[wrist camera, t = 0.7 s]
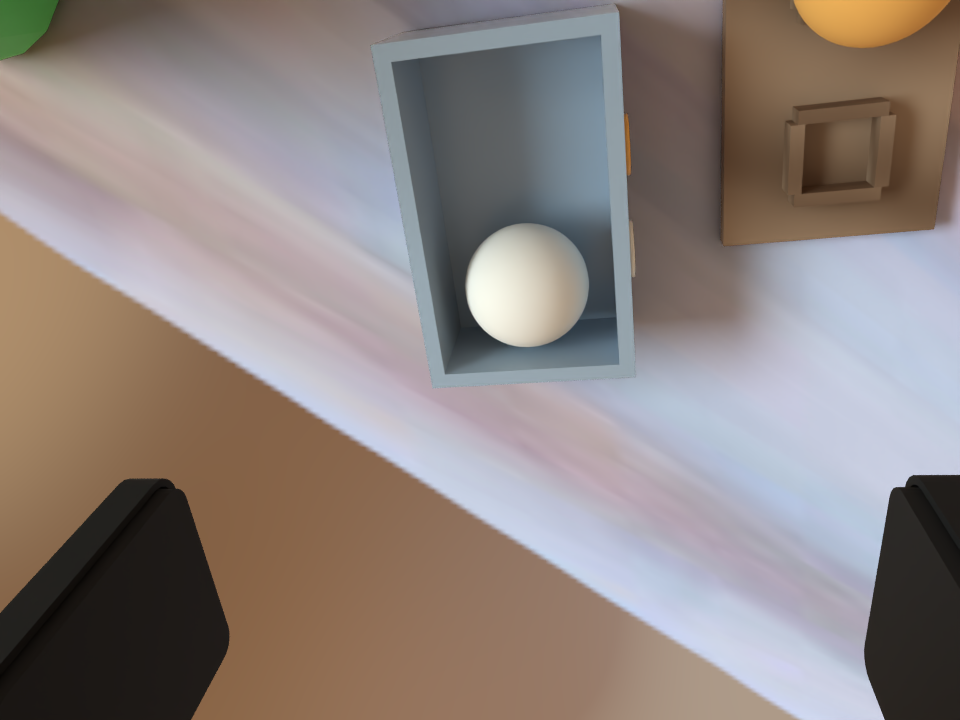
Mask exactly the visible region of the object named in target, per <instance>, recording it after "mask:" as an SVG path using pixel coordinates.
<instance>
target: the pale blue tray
mask: <svg viewBox="0 0 960 720" xmlns="http://www.w3.org/2000/svg"><path fill="white" fill-rule="evenodd" d="M371 51H372V56H373V62H374V67H375V73H376V78H377V84H378V89H379V95H380V100H381V106H382V111H383V117H384V122H385V128H386V133H387V139H388V144H389V150H390V155H391V161H392V166H393V172H394V178H395V183H396V189H397V194H398V200H399V205H400V211H401V216H402V222H403V227H404V233H405V238H406V244H407V249H408V255H409V260H410V266H411V271H412V277H413V282H414V288H415V293H416V299H417V304H418V310H419V315H420V321H421V326H422V332H423V337H424V343H425V348H426V354H427V359H428V365H429V370H430V376H431V381H432V387H433V388H446V387H464V386H483V385H501V384H520V383H538V382H557V381H575V380H593V379H612V378H630V377H636V371H635V349H634V327H633V305H632V283H631V277H635V248H634V233H633V222H632V220H629V218H628V196H627V176H630V175H631V152H630V133H629V120H628V113H625V114H624V108H623V86H622V64H621V42H620V20H619V11H618V9H617V7H616V5H615V4H607V5H600V6H593V7H585V8H578V9H571V10H563V11H556V12H549V13H541V14H534V15H527V16H519V17H512V18H505V19H497V20H490V21H483V22H475V23H468V24H461V25H453V26H446V27H439V28H431V29H424V30H417V31H409V32H402V33H400V34H397V35H395V36H392V37H390V38H387V39H385V40H382V41H380V42H377V43H375V44H372V45H371ZM520 223H534V224H540V225H545V226H548V227H550V228H553V229H555V230H557V231H559V232H560V233H562V234H563V235H565V236H566V237H567V238H568V239H569V240H570V241H571V242H572V243H573V244H574V245H575V246H576V247H577V249H578V250H579V252H580V254H581V255H582V257H583V259H584V262H585V264H586V268H587V271H588V278H589V292H588V298H587V302H586V305H585V308H584V310H583V312H582V314H581V316H580V318H579V319H578V321H577V322H576V324H575V325H574V326H573V327H572V328H571V329H570V330H569V331H568V332H567V333H566V334H564V335H563V336H561V337H560V338H558V339H557V340H555V341H553V342H550V343H548V344H545V345H541V346H535V347H518V346H513V345H509V344H506V343H503V342H501V341H499V340H497V339H495V338H494V337H492V336H491V335H489V334H488V333H487V332H486V331H484V330H483V328H482V327H481V326H480V325H479V324H478V323H477V321H476V320H475V318H474V316H473V315H472V313H471V311H470V308H469V306H468V302H467V298H466V291H465V279H466V274H467V269H468V265H469V263H470V260H471V258H472V256H473V254H474V253H475V251H476V250H477V248H478V247H479V246H480V244H481V243H482V242H483V241H484V240H485V239H487V238H488V237H489V236H490V235H492V234H493V233H495V232H496V231H498V230H500V229H502V228H504V227H507V226H510V225H514V224H520Z"/></svg>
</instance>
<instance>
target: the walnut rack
mask: <svg viewBox="0 0 960 720" xmlns="http://www.w3.org/2000/svg"><path fill="white" fill-rule="evenodd" d="M959 46H960V0H950V2H949V3H948V4H947V5H946V6H945V8H944V9H943V10H942V11H941V12H940V13H939V14H938V15H937V16H936V17H935V18H934V19H933V20H931V21H930V22H929V23H928V24H927V25H925V26H924V27H923V28H921V29H920V30H918V31H917V32H915V33H913V34H911V35H910V36H908V37H906V38H903V39H901V40H899V41H896V42H893V43H890V44H887V45H884V46H878V47H873V48H854V47H846V46H842V45H838V44H835V43H832V42H830V41H828V40H826V39H824V38H823V37H821V36H819V35H818V34H817V33H815V32H814V31H813V30H812V29H811V28H810V27H809V26H808V25H807V24H806V23H805V22H804V20H803V19H802V17H801V16H800V14H799V12H798V10H797V8H796V6H795V4H794V0H723V22H722V126H721V230H720V240H721V242H722V245H723V246H734V245H746V244H758V243H771V242H783V241H795V240H808V239H820V238H832V237H845V236H857V235H869V234H882V233H894V232H906V231H919V230H931V229H934V227H935V220H936V212H937V205H938V198H939V191H940V183H941V176H942V169H943V162H944V155H945V147H946V140H947V133H948V126H949V118H950V111H951V104H952V97H953V90H954V82H955V75H956V68H957V61H958V53H959Z"/></svg>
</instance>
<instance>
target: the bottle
mask: <svg viewBox="0 0 960 720" xmlns="http://www.w3.org/2000/svg"><path fill="white" fill-rule="evenodd" d="M58 1H59V0H0V60H3V59H6V58H9V57H13V56H16V55H19V54H23V53H25V52H26V51H27V50H28V49H29V48H30V47H31V46H32V45H33V44H34V43H35V42H36V41H37V40H38V39H39V38H40V37H41V36H42V35H43V34H44V33H45V32H46V31H47V30H48V27H49V24H50V22H51V19H52V17H53V14H54V11H55V9H56V6H57V3H58Z"/></svg>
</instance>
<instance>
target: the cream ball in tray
mask: <svg viewBox="0 0 960 720" xmlns="http://www.w3.org/2000/svg"><path fill="white" fill-rule="evenodd" d="M465 291H466V298H467V302H468V306H469V308H470V311H471V313H472V315H473V316H474V318H475V320H476V321H477V323H478V324H479V325H480V326H481V327H482V328H483V330H484V331H486V332H487V333H488V334H489V335H491V336H492V337H494V338H495V339H497V340H499V341H501V342H503V343H506V344H509V345H513V346H518V347H535V346H541V345H545V344H548V343H550V342H553V341H555V340H557V339H558V338H560V337H561V336H563V335H564V334H566V333H567V332H568V331H569V330H570V329H571V328H572V327H573V326H574V325H575V324H576V322H577V321H578V319H579V318H580V316H581V314H582V312H583V310H584V308H585V305H586V302H587V298H588V292H589V278H588V271H587V268H586V264H585V262H584V259H583V257H582V255H581V254H580V252H579V250H578V249H577V247H576V246H575V245H574V244H573V243H572V242H571V241H570V240H569V239H568V238H567V237H566V236H565V235H563V234H562V233H560V232H559V231H557V230H555V229H553V228H550V227H548V226H545V225H540V224H534V223H520V224H514V225H510V226H507V227H504V228H502V229H500V230H498V231H496V232H495V233H493V234H492V235H490V236H489V237H488V238H487V239H485V240H484V241H483V242H482V243H481V244H480V246H479V247H478V248H477V250H476V251H475V253H474V254H473V256H472V258H471V260H470V263H469V265H468V269H467V274H466V279H465Z"/></svg>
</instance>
